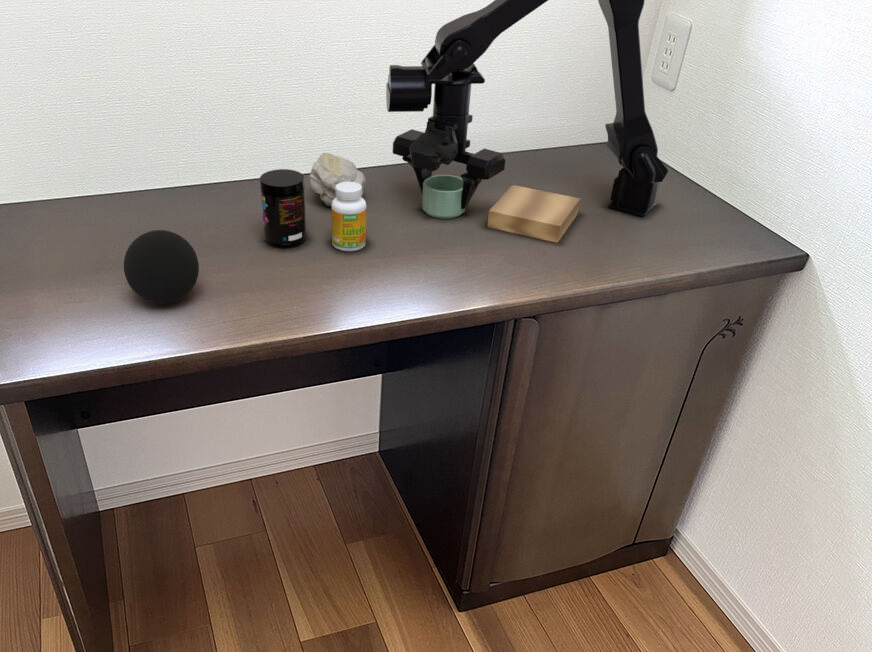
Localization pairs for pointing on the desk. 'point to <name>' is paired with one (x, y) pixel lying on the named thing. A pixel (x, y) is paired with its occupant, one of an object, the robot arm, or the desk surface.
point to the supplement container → (283, 207)
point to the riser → (533, 213)
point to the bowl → (442, 196)
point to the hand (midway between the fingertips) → (444, 202)
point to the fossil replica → (333, 176)
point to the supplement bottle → (348, 217)
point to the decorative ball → (161, 266)
